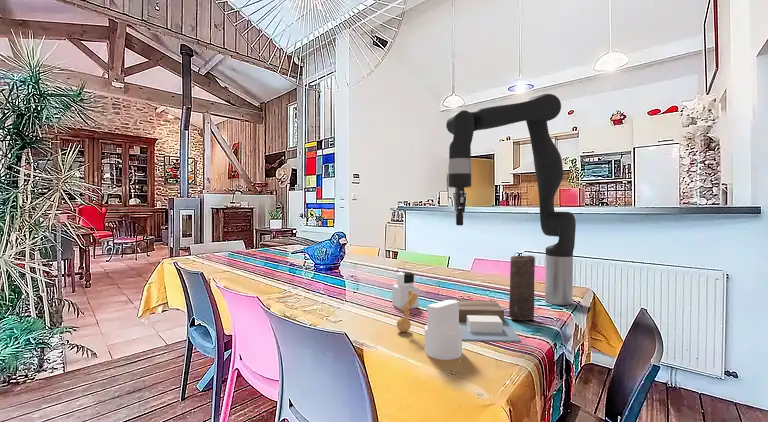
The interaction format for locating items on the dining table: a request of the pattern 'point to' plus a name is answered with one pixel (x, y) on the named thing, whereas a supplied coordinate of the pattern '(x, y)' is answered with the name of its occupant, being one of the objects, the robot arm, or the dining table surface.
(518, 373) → the dining table surface
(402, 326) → the figurine
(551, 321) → the dining table surface
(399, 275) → the medicine bottle
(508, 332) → the mat
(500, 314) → the brown flat block
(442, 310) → the cylinder with rectangular tab
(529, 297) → the candle
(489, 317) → the white rectangular block
